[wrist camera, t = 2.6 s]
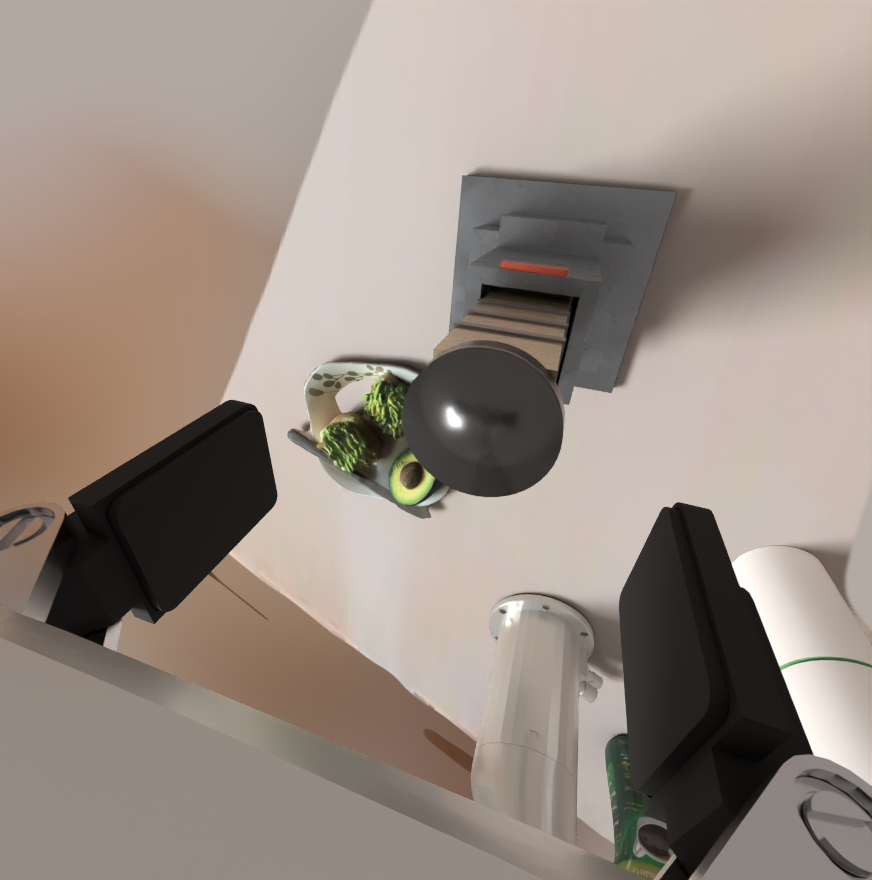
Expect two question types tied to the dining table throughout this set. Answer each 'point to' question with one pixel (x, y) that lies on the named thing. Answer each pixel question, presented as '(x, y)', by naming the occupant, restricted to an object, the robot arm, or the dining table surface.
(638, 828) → the coffee jar
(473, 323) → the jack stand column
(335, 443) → the salad plate
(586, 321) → the stand
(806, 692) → the cylindrical container
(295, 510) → the dining table surface
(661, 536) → the robot arm
